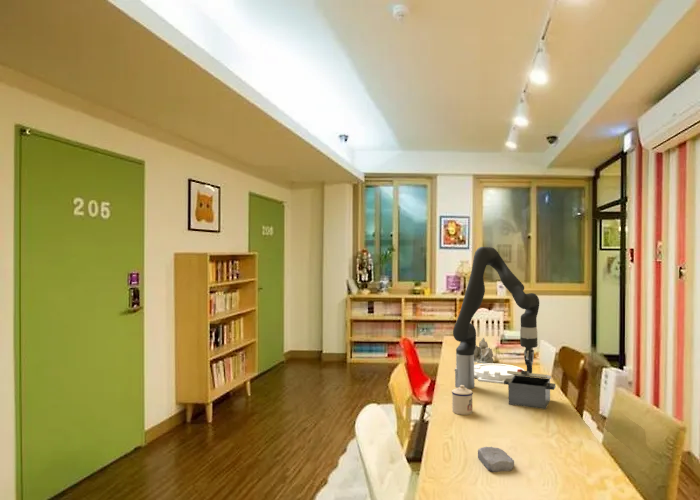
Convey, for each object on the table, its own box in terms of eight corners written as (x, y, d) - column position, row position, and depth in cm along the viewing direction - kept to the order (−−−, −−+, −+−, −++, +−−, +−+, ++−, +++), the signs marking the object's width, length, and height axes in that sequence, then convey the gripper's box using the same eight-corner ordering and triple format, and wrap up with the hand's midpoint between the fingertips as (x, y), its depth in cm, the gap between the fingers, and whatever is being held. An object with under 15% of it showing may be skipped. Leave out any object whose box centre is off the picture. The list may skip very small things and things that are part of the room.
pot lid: (504, 372, 222) (504, 366, 223) (514, 375, 243) (514, 369, 244) (544, 376, 214) (544, 370, 215) (551, 378, 235) (551, 372, 236)
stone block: (502, 461, 169) (474, 457, 168) (504, 447, 169) (477, 443, 168) (517, 478, 157) (487, 473, 156) (520, 463, 157) (490, 459, 156)
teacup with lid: (471, 416, 211) (471, 388, 212) (450, 414, 214) (450, 387, 215) (474, 407, 223) (474, 382, 223) (454, 406, 226) (454, 380, 226)
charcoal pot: (501, 403, 229) (501, 381, 229) (508, 394, 243) (508, 374, 243) (552, 410, 218) (552, 387, 218) (556, 400, 232) (556, 379, 232)
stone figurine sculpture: (466, 358, 330) (466, 336, 329) (491, 359, 328) (492, 337, 327) (468, 364, 314) (469, 341, 313) (495, 366, 312) (496, 343, 311)
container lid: (528, 372, 292) (528, 362, 292) (519, 386, 261) (519, 374, 261) (478, 367, 305) (478, 357, 305) (463, 379, 274) (463, 369, 274)
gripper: (522, 333, 238) (523, 369, 238) (517, 338, 227) (518, 375, 227) (539, 334, 235) (540, 370, 235) (535, 339, 223) (535, 377, 223)
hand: (529, 373), depth 231 cm, fingers closed
